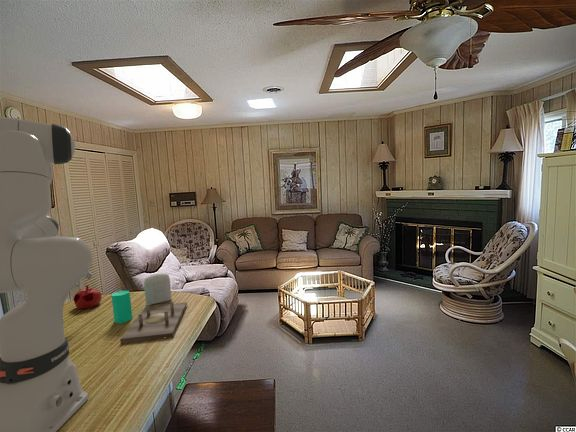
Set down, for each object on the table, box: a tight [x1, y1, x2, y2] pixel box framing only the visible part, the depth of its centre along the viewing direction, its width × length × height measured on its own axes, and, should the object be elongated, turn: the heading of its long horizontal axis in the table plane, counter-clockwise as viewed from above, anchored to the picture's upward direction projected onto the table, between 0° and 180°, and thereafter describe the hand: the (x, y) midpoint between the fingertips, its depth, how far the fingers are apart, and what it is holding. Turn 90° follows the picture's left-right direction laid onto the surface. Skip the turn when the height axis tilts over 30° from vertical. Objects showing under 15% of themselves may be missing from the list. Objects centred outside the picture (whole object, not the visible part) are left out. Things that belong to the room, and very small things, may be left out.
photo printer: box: [143, 273, 172, 306], centre depth 128 cm, size 10×4×12 cm, turn 123°
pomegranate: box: [72, 284, 102, 310], centre depth 128 cm, size 10×10×9 cm
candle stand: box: [119, 301, 188, 344], centre depth 109 cm, size 26×16×6 cm, turn 9°
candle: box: [111, 290, 133, 324], centre depth 112 cm, size 6×6×12 cm
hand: (84, 281), depth 110 cm, fingers open, 8 cm apart
